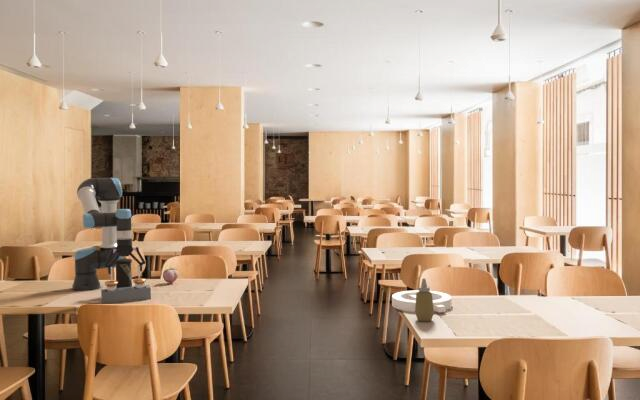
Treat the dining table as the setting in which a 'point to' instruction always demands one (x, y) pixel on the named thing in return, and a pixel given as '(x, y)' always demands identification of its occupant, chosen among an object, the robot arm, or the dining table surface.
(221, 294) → the dining table surface
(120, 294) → the grey block stand
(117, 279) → the container
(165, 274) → the decorative fruit
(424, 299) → the squeeze bottle
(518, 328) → the dining table surface
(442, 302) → the ring with crossbar
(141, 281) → the gold lidded jar
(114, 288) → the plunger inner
